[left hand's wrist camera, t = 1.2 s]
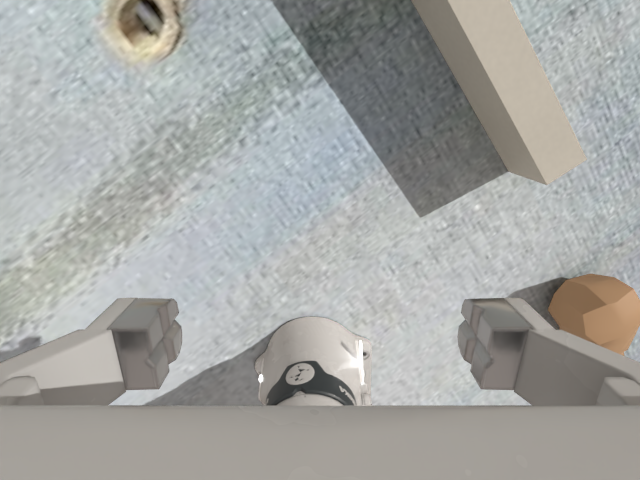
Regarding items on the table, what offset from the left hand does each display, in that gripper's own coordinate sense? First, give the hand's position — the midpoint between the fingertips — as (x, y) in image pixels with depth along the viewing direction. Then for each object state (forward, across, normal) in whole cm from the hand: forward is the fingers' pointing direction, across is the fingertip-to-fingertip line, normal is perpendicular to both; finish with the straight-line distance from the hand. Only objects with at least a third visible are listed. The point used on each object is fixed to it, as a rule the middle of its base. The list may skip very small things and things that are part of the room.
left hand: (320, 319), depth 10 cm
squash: (+38, +40, -25) cm, 61 cm away
